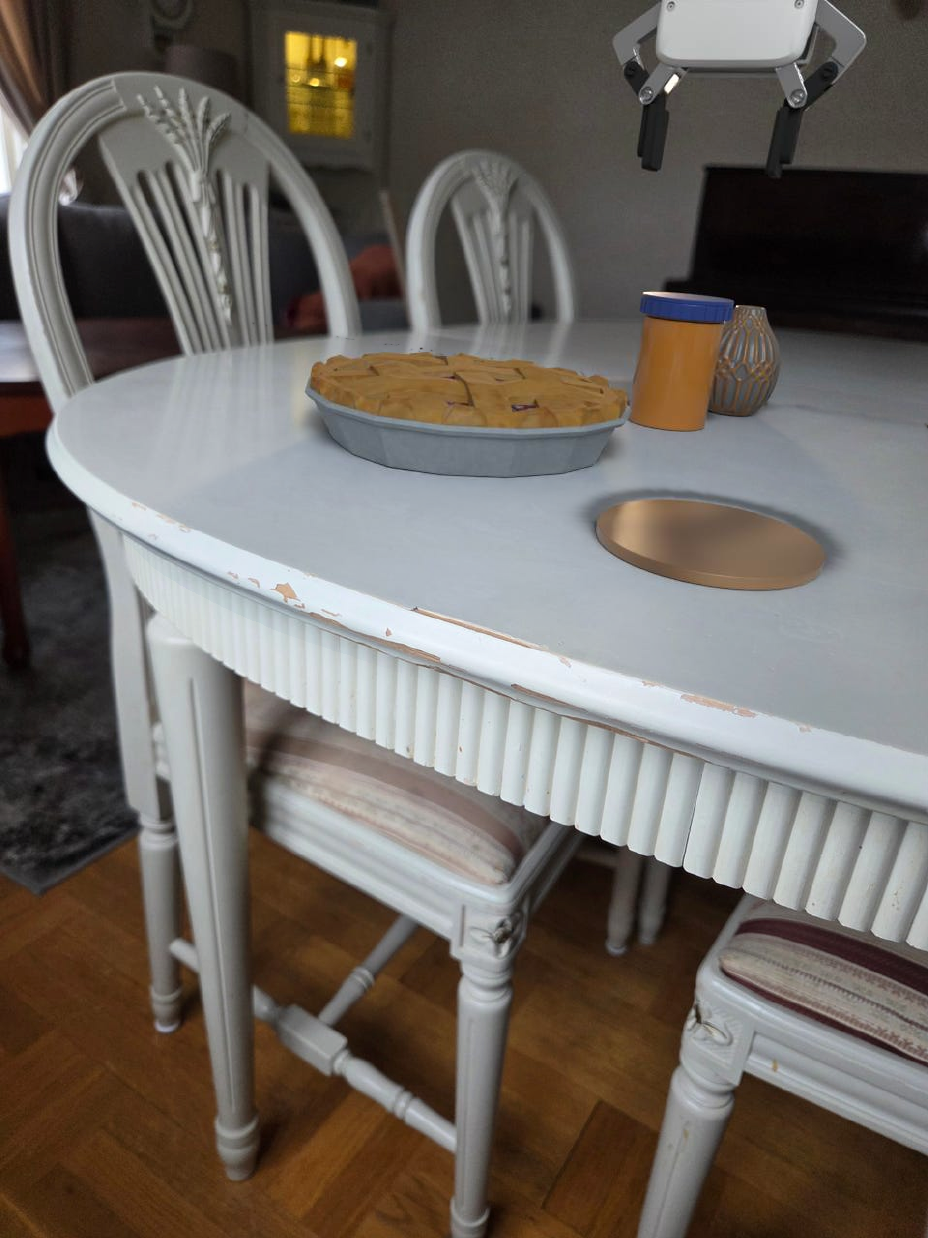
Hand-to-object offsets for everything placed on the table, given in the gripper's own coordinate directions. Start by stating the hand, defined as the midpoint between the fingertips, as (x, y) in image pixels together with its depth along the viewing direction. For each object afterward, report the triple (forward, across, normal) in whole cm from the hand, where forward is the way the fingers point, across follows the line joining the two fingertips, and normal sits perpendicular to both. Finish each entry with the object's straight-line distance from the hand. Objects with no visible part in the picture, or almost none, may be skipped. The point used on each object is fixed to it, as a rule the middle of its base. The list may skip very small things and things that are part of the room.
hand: (710, 171), depth 60 cm
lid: (+9, 0, 0) cm, 9 cm away
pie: (+18, +10, +17) cm, 27 cm away
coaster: (+18, -9, +28) cm, 35 cm away
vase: (+18, -4, -9) cm, 21 cm away
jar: (+18, 0, 0) cm, 18 cm away
